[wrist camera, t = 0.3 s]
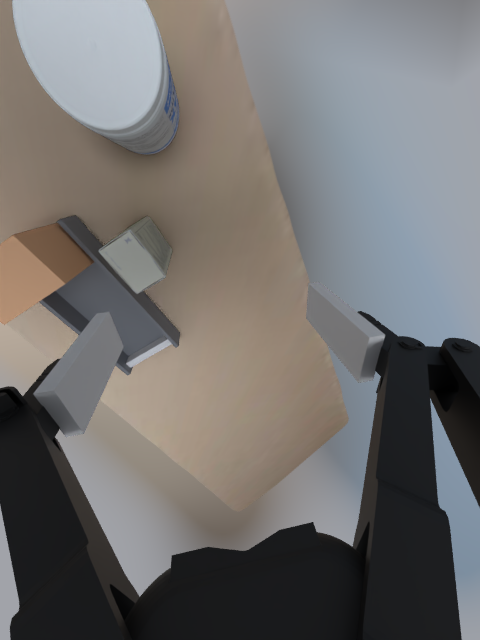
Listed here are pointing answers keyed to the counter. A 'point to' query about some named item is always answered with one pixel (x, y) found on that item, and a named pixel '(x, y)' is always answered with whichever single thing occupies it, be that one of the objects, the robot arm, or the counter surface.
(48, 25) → the supplement tub
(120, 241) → the skincare box
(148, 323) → the tray
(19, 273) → the block
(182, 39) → the counter surface
